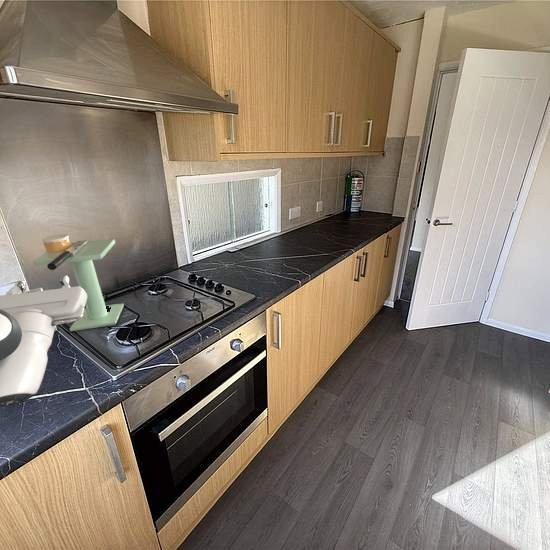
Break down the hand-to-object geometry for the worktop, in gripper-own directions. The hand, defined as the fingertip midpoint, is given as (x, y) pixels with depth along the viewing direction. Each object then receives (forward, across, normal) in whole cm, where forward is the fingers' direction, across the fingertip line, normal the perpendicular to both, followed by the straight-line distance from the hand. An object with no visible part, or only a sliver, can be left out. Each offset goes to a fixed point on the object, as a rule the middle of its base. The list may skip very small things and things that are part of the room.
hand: (43, 279), depth 73 cm
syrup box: (+5, +15, +33) cm, 37 cm away
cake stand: (+9, 0, +35) cm, 36 cm away
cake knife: (+16, 0, +9) cm, 18 cm away
